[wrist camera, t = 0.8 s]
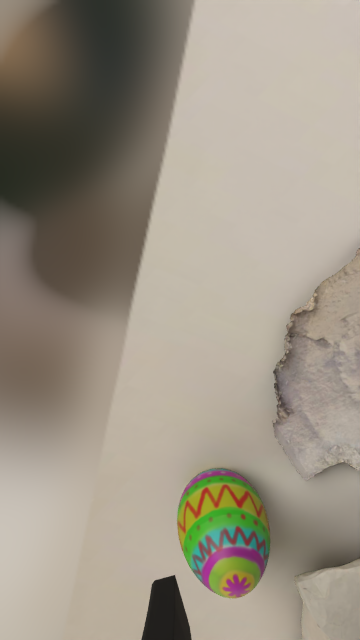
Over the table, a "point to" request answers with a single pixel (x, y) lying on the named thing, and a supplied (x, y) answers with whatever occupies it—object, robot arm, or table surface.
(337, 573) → the rock
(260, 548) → the egg
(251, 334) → the table surface
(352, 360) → the decorative stone
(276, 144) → the table surface
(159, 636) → the robot arm
